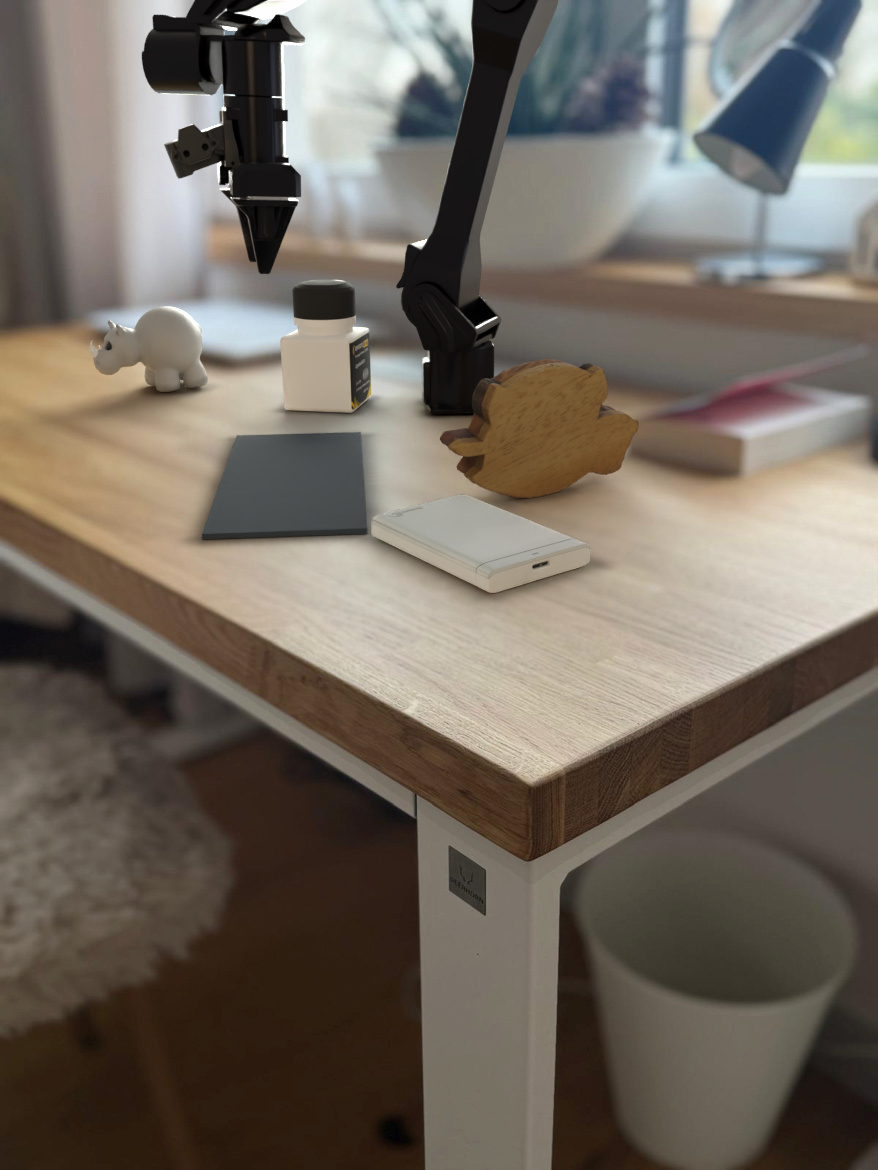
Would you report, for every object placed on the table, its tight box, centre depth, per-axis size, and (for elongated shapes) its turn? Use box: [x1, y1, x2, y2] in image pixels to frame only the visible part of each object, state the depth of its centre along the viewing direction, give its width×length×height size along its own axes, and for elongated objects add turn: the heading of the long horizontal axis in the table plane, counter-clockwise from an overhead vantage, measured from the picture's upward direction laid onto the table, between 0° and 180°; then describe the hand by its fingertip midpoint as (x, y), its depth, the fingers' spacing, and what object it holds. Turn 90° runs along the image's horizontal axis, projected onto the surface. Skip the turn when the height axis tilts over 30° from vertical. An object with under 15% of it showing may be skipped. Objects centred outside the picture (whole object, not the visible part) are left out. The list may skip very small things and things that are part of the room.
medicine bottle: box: [279, 279, 372, 414], centre depth 106 cm, size 7×7×12 cm
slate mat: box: [201, 431, 368, 540], centre depth 84 cm, size 11×26×1 cm, turn 5°
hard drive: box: [370, 493, 591, 594], centre depth 69 cm, size 2×8×12 cm
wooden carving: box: [439, 358, 640, 499], centre depth 79 cm, size 16×5×10 cm, turn 123°
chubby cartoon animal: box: [88, 305, 208, 393], centre depth 114 cm, size 7×12×8 cm, turn 121°
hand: (259, 267), depth 108 cm, fingers open, 9 cm apart
